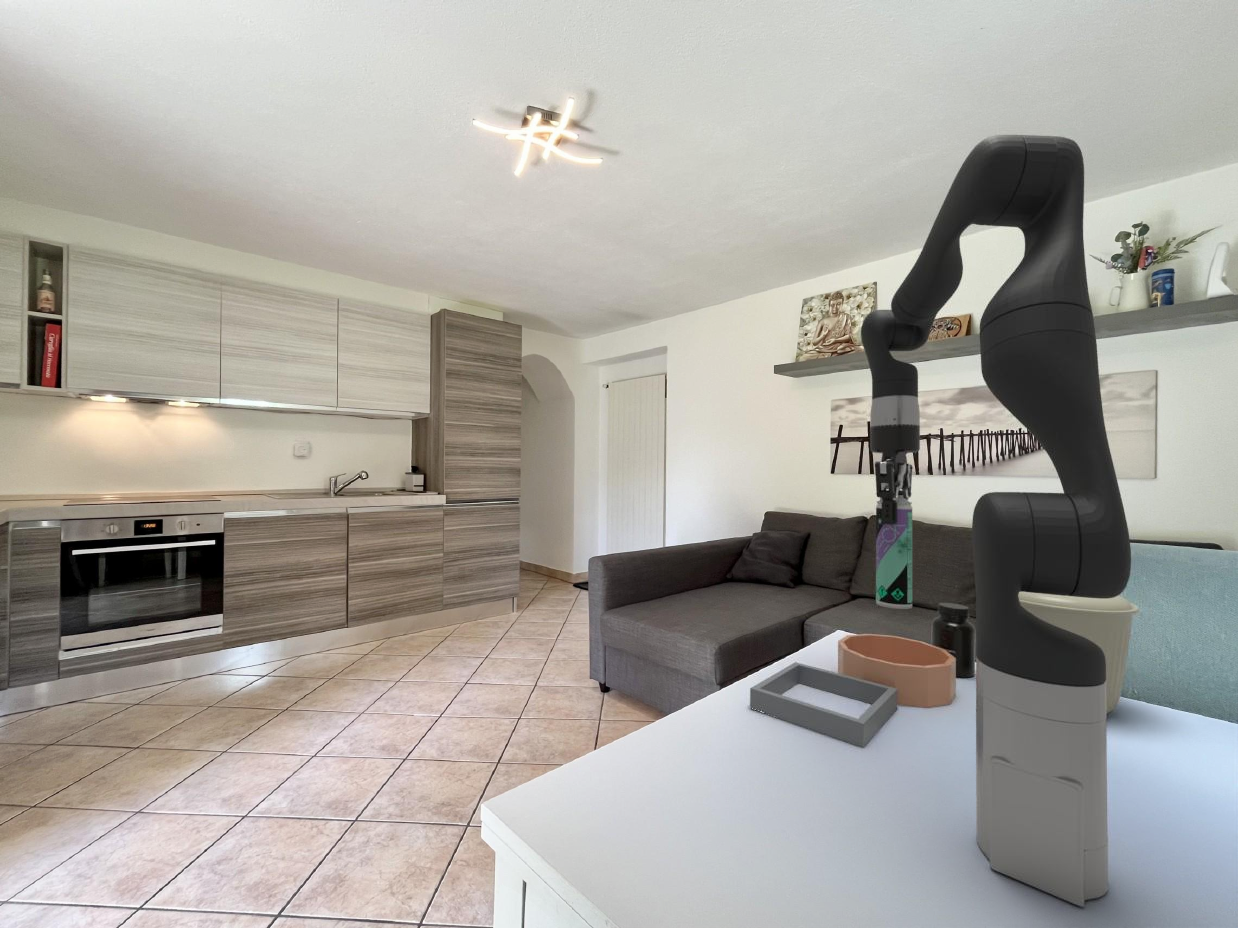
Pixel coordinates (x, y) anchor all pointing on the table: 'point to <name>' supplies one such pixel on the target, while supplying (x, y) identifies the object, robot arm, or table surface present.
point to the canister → (1091, 628)
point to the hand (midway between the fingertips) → (894, 522)
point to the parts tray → (819, 718)
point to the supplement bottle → (955, 636)
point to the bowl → (901, 667)
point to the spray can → (894, 557)
